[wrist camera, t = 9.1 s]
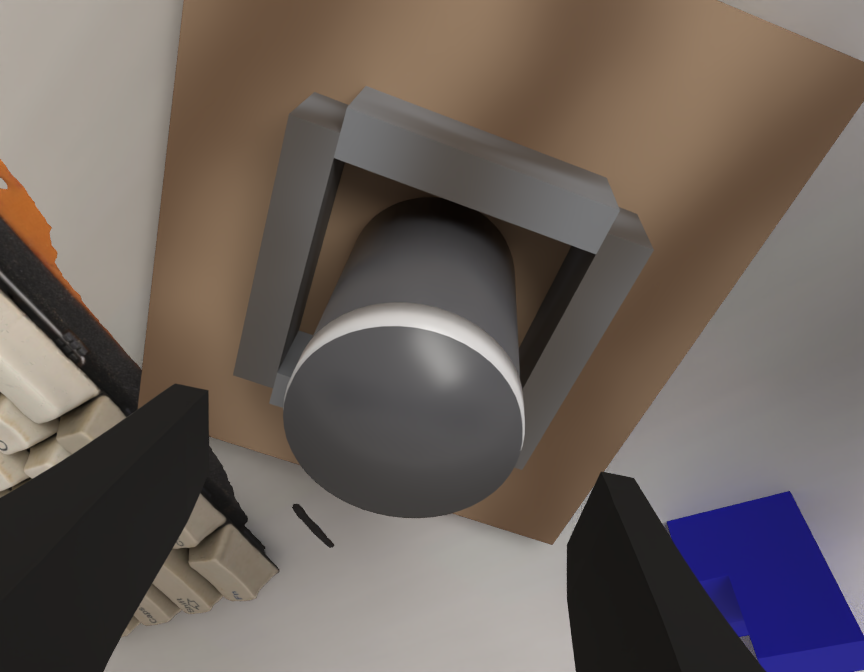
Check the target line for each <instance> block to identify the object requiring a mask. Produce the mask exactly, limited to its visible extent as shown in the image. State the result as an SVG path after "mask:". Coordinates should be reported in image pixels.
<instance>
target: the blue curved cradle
mask: <svg viewBox="0 0 864 672" xmlns="http://www.w3.org/2000/svg"><path fill="white" fill-rule="evenodd" d="M667 524H668V528H669V531H670V535H671V539H672V541H673V542H674V544H675V545H676V547H677V549H678V550H679V552H680V553H681V555H682V556H683V558H684V559H685V561H686V562H687V564H688V566H689V567H690V569H691V570H692V572H693V573H694V575H695V576H696V578H697V579H698V581H699V582H700V584H701V585H702V587H703V588H704V589H705V591H706V592H707V594H708V595H709V597H710V598H711V599H712V601H713V602H714V604H715V605H716V607H717V608H718V609H719V611H720V612H721V613H722V615H723V616H724V618H725V619H726V620H727V622H728V623H729V624H730V626H731V627H732V628H733V630H734V631H735V632H736V634H737V635H738V637H742V636H748V635H749V636H750V639H751V642H752V645H753V648H754V650H755V653H756V656H757V659H758V661H759V664H760V665H761V666H762V667H763V668H764V670H765V671H766V672H854V671H860V670H864V635H863V633H862V631H861V629H860V627H859V625H858V624H857V622H856V620H855V618H854V616H853V614H852V612H851V610H850V608H849V606H848V604H847V602H846V600H845V598H844V596H843V594H842V592H841V590H840V588H839V586H838V584H837V582H836V580H835V578H834V576H833V574H832V573H831V571H830V569H829V567H828V565H827V563H826V561H825V559H824V557H823V555H822V553H821V551H820V549H819V547H818V545H817V543H816V541H815V539H814V537H813V535H812V533H811V531H810V529H809V527H808V525H807V523H806V522H805V520H804V518H803V516H802V514H801V512H800V510H799V508H798V506H797V504H796V502H795V500H794V498H793V496H792V494H791V492H790V491H788V492H784V493H780V494H776V495H772V496H768V497H764V498H760V499H756V500H752V501H748V502H744V503H740V504H736V505H732V506H727V507H723V508H719V509H715V510H711V511H707V512H703V513H699V514H695V515H691V516H687V517H683V518H679V519H675V520H671V521H667Z"/></svg>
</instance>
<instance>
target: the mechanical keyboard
mask: <svg viewBox="0 0 864 672" xmlns="http://www.w3.org/2000/svg"><path fill="white" fill-rule="evenodd" d="M0 178H2V179H3V180H4V181H5V182H6V184H7V186H8V189H1V188H0V498H1V497H2V496H4V495H6V494H8V493H10V492H11V491H13V490H15V489H16V488H18V487H20V486H21V485H23V484H25V483H26V482H28V481H30V480H31V479H33V478H35V477H36V476H38V475H39V474H41V473H43V472H44V471H46V470H48V469H49V468H51V467H53V466H54V465H56V464H57V463H59V462H61V461H62V460H64V459H65V458H67V457H68V456H70V455H72V454H73V453H75V452H76V451H78V450H79V449H81V448H82V447H84V446H85V445H87V444H88V443H90V442H91V441H92V440H94V439H95V438H97V437H98V436H100V435H101V434H103V433H104V432H106V431H107V430H109V429H110V428H112V427H113V426H115V425H116V424H117V423H119V422H120V421H122V420H123V419H125V418H126V417H127V416H129V415H130V414H132V413H133V412H135V411H136V410H137V409H138V401H139V393H140V384H141V375H142V370H141V369H140V367H139V366H138V365H137V364H136V363H135V362H134V361H133V360H132V359H131V358H130V356H128V354H127V353H126V352H125V351H124V350H123V348H122V347H121V346H120V345H119V344H118V342H117V341H116V340H115V339H114V338H113V337H112V335H111V334H110V333H109V331H108V330H107V329H106V328H104V327H103V326H102V324H100V323H99V320H98V319H97V318H96V317H95V316H94V315H93V314H92V312H91V311H90V310H89V309H88V308H87V307H86V305H85V304H84V303H83V302H82V300H81V296H80V295H79V294H78V293H77V292H76V291H75V290H74V289H73V288H72V287H71V286H70V284H69V282H68V281H67V280H65V279H64V277H63V276H62V273H61V272H60V271H59V269H58V267H57V266H56V264H55V259H56V258H57V251H56V250H55V249H54V248H53V247H52V245H51V240H50V234H49V233H50V230H51V228H52V227H51V226H50V225H49V224H47V222H46V220H45V218H44V217H43V216H42V214H41V213H40V211H39V210H38V209H37V208H36V206H35V202H34V201H33V200H32V199H31V197H30V196H29V195H28V193H27V191H26V190H25V188H24V187H23V186H22V185H21V184H20V182H19V181H18V180H17V179H16V178H15V177H13V176H12V174H11V173H10V172H9V171H8V169H7V167H6V166H5V164H4V163H3V162H2V161H1V159H0ZM292 508H293V510H294V511H295V513H296V514H297V516H298V517H299V518H300V519H301V520H302V521H303V522H304V523H305V524H306V525H307V526H308V527H309V529H310V530H311V531H312V532H313V533H314V534H315V535H316V536H317V537H318V538H319V539H320V540H322V541H323V542H324V543H325V544H326V545H327V546H328V547H330V548H331V547H333V546H334V544H333V543H332V541H331V540H330V539H329V538H327V536H326V535H325V534H324V533H323V532H322V530H321V529H320V528H319V526H318V525H316V524H315V523H314V522H313V521H312V520H311V519H310V518H309V517H308V515H307V514H306V513H305V511H304V509H303V508H302V507H301V506H300V505H299V504H294V505H293V507H292ZM247 521H248V518H247V516H246V515H245V513H244V511H243V510H242V509H241V508H240V505H239V503H238V502H237V501H236V499H235V497H234V492H233V488H232V486H231V485H230V482H229V481H228V478H227V474H226V472H225V470H224V469H223V466H222V464H221V463H220V461H219V460H218V458H217V456H216V455H215V454H214V453H213V452H212V449H211V448H210V446H209V473H208V476H207V478H206V481H205V483H204V485H203V488H202V490H201V493H200V495H199V497H198V500H197V502H196V504H195V507H194V509H193V511H192V513H191V516H190V518H189V520H188V522H187V524H186V526H185V528H184V529H183V531H182V533H181V535H180V536H179V538H178V540H177V542H176V543H175V545H174V547H173V549H172V550H171V552H170V554H169V556H168V557H167V559H166V561H165V562H164V564H163V566H162V568H161V569H160V571H159V573H158V574H157V576H156V578H155V580H154V581H153V583H152V585H151V586H150V588H149V590H148V591H147V593H146V595H145V597H144V598H143V600H142V602H141V603H140V605H139V607H138V609H137V610H136V612H135V614H134V615H133V617H132V619H131V621H130V622H129V624H128V626H127V627H126V629H125V631H124V633H123V634H122V636H121V637H124V636H127V635H129V634H130V633H131V632H132V630H133V629H134V628H136V627H137V626H138V625H139V624H140V623H142V624H143V625H146V626H150V625H157V624H161V623H165V622H169V621H170V620H171V619H172V618H173V617H174V616H175V615H176V614H178V613H179V612H180V611H181V610H183V611H184V612H185V613H188V614H195V613H204V612H208V611H210V610H211V609H212V607H213V605H214V604H216V603H217V602H218V601H219V600H220V599H221V598H222V597H223V596H224V597H225V598H226V599H228V600H231V601H247V600H253V599H255V598H256V597H257V594H258V592H259V590H260V589H261V588H262V587H263V586H264V585H265V584H266V583H267V582H268V581H269V580H270V579H271V577H273V576H274V575H275V574H277V573H278V572H279V569H278V567H277V566H276V565H275V564H274V563H273V562H272V561H271V560H270V559H269V558H268V557H267V556H266V554H265V552H264V549H265V547H264V546H263V545H262V543H261V542H260V541H259V540H258V539H257V538H256V537H255V536H254V535H253V534H252V533H251V531H250V530H249V529H247V528H246V527H245V523H247Z"/></svg>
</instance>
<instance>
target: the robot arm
mask: <svg viewBox="0 0 864 672" xmlns="http://www.w3.org/2000/svg"><path fill="white" fill-rule="evenodd" d="M208 473H209V390H205V389H200V388H195V387H190V386H185V385H181V384H176V383H175V384H173V385H172V386H170V387H169V388H167V389H166V390H164V391H163V392H161V393H160V394H158V395H157V396H156V397H154V398H153V399H151V400H150V401H149V402H147V403H146V404H144V405H143V406H142V407H140V408H139V409H137V410H136V411H135V412H133V413H132V414H130V415H129V416H127V417H126V418H125V419H123V420H122V421H120V422H119V423H117V424H116V425H115V426H113V427H112V428H110V429H109V430H107V431H106V432H104V433H103V434H101V435H100V436H98V437H97V438H95V439H94V440H92V441H91V442H90V443H88V444H87V445H85V446H84V447H82V448H81V449H79V450H78V451H76V452H75V453H73V454H72V455H70V456H68V457H67V458H65V459H64V460H62V461H61V462H59V463H57V464H56V465H54V466H53V467H51V468H49V469H48V470H46V471H44V472H43V473H41V474H39V475H38V476H36V477H35V478H33V479H31V480H30V481H28V482H26V483H25V484H23V485H21V486H20V487H18V488H16V489H15V490H13V491H11V492H10V493H8V494H6V495H4V496H2V497H1V498H0V672H103V671H104V669H105V667H106V665H107V663H108V661H109V659H110V657H111V655H112V653H113V651H114V649H115V647H116V646H117V644H118V642H119V640H120V638H121V636H122V634H123V633H124V631H125V629H126V627H127V626H128V624H129V622H130V621H131V619H132V617H133V615H134V614H135V612H136V610H137V609H138V607H139V605H140V603H141V602H142V600H143V598H144V597H145V595H146V593H147V591H148V590H149V588H150V586H151V585H152V583H153V581H154V580H155V578H156V576H157V574H158V573H159V571H160V569H161V568H162V566H163V564H164V562H165V561H166V559H167V557H168V556H169V554H170V552H171V550H172V549H173V547H174V545H175V543H176V542H177V540H178V538H179V536H180V535H181V533H182V531H183V529H184V528H185V526H186V524H187V522H188V520H189V518H190V516H191V513H192V511H193V509H194V507H195V504H196V502H197V500H198V497H199V495H200V493H201V490H202V488H203V485H204V483H205V481H206V478H207V476H208ZM567 602H568V611H569V619H570V628H571V636H572V644H573V652H574V660H575V668H576V672H766V671H765V670H764V668H763V667H762V666H761V665H760V664H759V662H758V661H757V660H756V659H755V657H754V656H753V655H752V653H751V652H750V651H749V650H748V648H747V647H746V646H745V644H744V643H743V642H742V641H741V639H740V638H739V637H738V635H737V634H736V632H735V631H734V630H733V628H732V627H731V626H730V624H729V623H728V622H727V620H726V619H725V618H724V616H723V615H722V613H721V612H720V611H719V609H718V608H717V607H716V605H715V604H714V602H713V601H712V599H711V598H710V597H709V595H708V594H707V592H706V591H705V589H704V588H703V587H702V585H701V584H700V582H699V581H698V579H697V578H696V576H695V575H694V573H693V572H692V570H691V569H690V567H689V566H688V564H687V562H686V561H685V559H684V558H683V556H682V555H681V553H680V552H679V550H678V549H677V547H676V545H675V544H674V542H673V541H672V539H671V537H670V536H669V534H668V533H667V531H666V529H665V528H664V526H663V525H662V523H661V521H660V520H659V518H658V516H657V515H656V513H655V512H654V510H653V508H652V507H651V505H650V503H649V502H648V500H647V499H646V497H645V495H644V494H643V492H642V490H641V489H640V487H639V486H638V484H637V482H636V481H635V479H634V478H631V477H626V476H621V475H616V474H611V473H606V472H602V471H601V472H600V474H599V476H598V479H597V481H596V483H595V485H594V487H593V489H592V492H591V494H590V496H589V498H588V500H587V503H586V505H585V507H584V509H583V511H582V513H581V516H580V518H579V520H578V522H577V524H576V526H575V529H574V531H573V533H572V535H571V537H570V539H569V542H568V544H567Z"/></svg>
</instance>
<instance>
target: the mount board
mask: <svg viewBox="0 0 864 672" xmlns="http://www.w3.org/2000/svg"><path fill="white" fill-rule="evenodd" d="M863 101H864V62H863V61H860V60H858V59H855V58H853V57H851V56H848V55H846V54H844V53H841V52H839V51H836V50H834V49H832V48H829V47H827V46H825V45H822V44H820V43H817V42H815V41H813V40H810V39H808V38H805V37H803V36H801V35H798V34H796V33H794V32H791V31H789V30H786V29H784V28H782V27H779V26H777V25H775V24H772V23H770V22H767V21H765V20H763V19H760V18H758V17H756V16H753V15H751V14H748V13H746V12H744V11H741V10H739V9H736V8H734V7H732V6H729V5H727V4H725V3H722V2H720V1H717V0H184V3H183V12H182V21H181V30H180V38H179V47H178V56H177V65H176V74H175V83H174V91H173V100H172V109H171V118H170V127H169V136H168V145H167V153H166V162H165V171H164V180H163V189H162V198H161V207H160V215H159V224H158V233H157V242H156V251H155V260H154V269H153V277H152V286H151V295H150V304H149V313H148V322H147V331H146V339H145V348H144V357H143V366H142V375H141V384H140V393H139V401H138V409H139V408H140V407H142V406H143V405H144V404H146V403H147V402H149V401H150V400H151V399H153V398H154V397H156V396H157V395H158V394H160V393H161V392H163V391H164V390H166V389H167V388H169V387H170V386H172V385H173V384H175V383H176V384H181V385H185V386H190V387H195V388H200V389H205V390H209V436H210V437H213V438H216V439H219V440H222V441H226V442H229V443H232V444H235V445H238V446H241V447H244V448H248V449H251V450H254V451H257V452H260V453H263V454H267V455H270V456H273V457H276V458H279V459H282V460H286V461H289V462H292V463H295V464H298V465H300V464H299V463H298V461H297V459H296V458H295V456H294V454H293V453H292V451H291V448H290V446H289V444H288V441H287V438H286V434H285V430H284V423H283V406H284V396H285V392H286V389H287V385H288V383H289V380H290V378H291V376H292V374H293V372H294V370H295V367H296V365H297V363H298V361H299V359H300V357H301V355H302V352H303V350H304V349H305V347H306V346H307V344H308V343H309V342H310V340H311V339H312V337H313V334H314V332H315V330H316V328H317V326H318V324H319V321H320V319H321V317H322V315H323V313H324V311H325V308H326V306H327V304H328V302H329V300H330V298H331V295H332V293H333V291H334V289H335V287H336V285H337V282H338V280H339V278H340V276H341V274H342V272H343V269H344V267H345V265H346V263H347V261H348V259H349V256H350V254H351V252H352V250H353V248H354V246H355V243H356V241H357V239H358V237H359V235H360V233H361V232H362V230H363V229H364V227H365V226H366V225H367V224H368V223H369V222H370V221H371V220H372V219H373V218H374V217H375V216H376V215H377V214H379V213H380V212H382V211H383V210H385V209H386V208H388V207H390V206H392V205H394V204H396V203H399V202H402V201H405V200H409V199H414V198H421V197H436V198H444V199H447V200H450V201H452V202H455V203H458V204H460V205H463V206H466V207H469V208H471V209H474V210H477V211H478V212H480V213H481V214H483V215H484V216H485V217H486V218H488V219H489V220H490V221H491V222H492V223H493V224H494V225H495V226H496V227H497V229H498V230H499V231H500V232H501V234H502V235H503V237H504V238H505V240H506V242H507V244H508V246H509V248H510V251H511V254H512V257H513V262H514V268H515V286H516V306H517V326H518V347H519V367H520V382H521V385H522V391H523V398H524V416H525V435H524V441H523V446H522V449H521V452H520V455H519V458H518V460H517V463H516V465H515V467H514V469H513V470H512V472H511V474H510V475H509V477H508V478H507V479H506V480H505V482H504V483H503V484H502V485H501V486H500V487H499V488H498V489H497V490H496V491H495V492H494V493H492V494H491V495H489V496H488V497H487V498H485V499H484V500H482V501H480V502H478V503H477V504H475V505H473V506H471V507H468V508H466V509H463V510H461V511H458V512H454V513H453V514H456V515H459V516H462V517H466V518H469V519H472V520H475V521H478V522H481V523H485V524H488V525H491V526H494V527H497V528H500V529H504V530H507V531H510V532H513V533H516V534H519V535H523V536H526V537H529V538H532V539H535V540H538V541H541V542H545V543H548V544H551V545H553V543H554V542H555V540H556V539H557V538H558V536H559V535H560V533H561V532H562V530H563V529H564V528H565V526H566V525H567V523H568V522H569V520H570V519H571V518H572V516H573V515H574V513H575V512H576V510H577V509H578V508H579V506H580V505H581V503H582V502H583V501H584V499H585V498H586V496H587V495H588V493H589V492H590V491H591V489H592V488H593V486H594V485H595V483H596V481H597V479H598V476H599V474H600V472H601V471H602V472H604V471H605V469H606V468H607V466H608V465H609V463H610V462H611V461H612V459H613V458H614V456H615V455H616V453H617V452H618V451H619V449H620V448H621V446H622V445H623V443H624V442H625V441H626V439H627V438H628V436H629V435H630V433H631V432H632V431H633V429H634V428H635V426H636V425H637V423H638V422H639V421H640V419H641V418H642V416H643V415H644V413H645V412H646V411H647V409H648V408H649V406H650V405H651V404H652V402H653V401H654V399H655V398H656V396H657V395H658V394H659V392H660V391H661V389H662V388H663V386H664V385H665V384H666V382H667V381H668V379H669V378H670V376H671V375H672V374H673V372H674V371H675V369H676V368H677V366H678V365H679V364H680V362H681V361H682V359H683V358H684V356H685V355H686V354H687V352H688V351H689V349H690V348H691V346H692V345H693V344H694V342H695V341H696V339H697V338H698V336H699V335H700V334H701V332H702V331H703V329H704V328H705V326H706V325H707V324H708V322H709V321H710V319H711V318H712V317H713V315H714V314H715V312H716V311H717V309H718V308H719V307H720V305H721V304H722V302H723V301H724V299H725V298H726V297H727V295H728V294H729V292H730V291H731V289H732V288H733V287H734V285H735V284H736V282H737V281H738V279H739V278H740V277H741V275H742V274H743V272H744V271H745V269H746V268H747V267H748V265H749V264H750V262H751V261H752V259H753V258H754V257H755V255H756V254H757V252H758V251H759V249H760V248H761V247H762V245H763V244H764V242H765V241H766V239H767V238H768V237H769V235H770V234H771V232H772V231H773V230H774V228H775V227H776V225H777V224H778V222H779V221H780V220H781V218H782V217H783V215H784V214H785V212H786V211H787V210H788V208H789V207H790V205H791V204H792V202H793V201H794V200H795V198H796V197H797V195H798V194H799V192H800V191H801V190H802V188H803V187H804V185H805V184H806V182H807V181H808V180H809V178H810V177H811V175H812V174H813V172H814V171H815V170H816V168H817V167H818V165H819V164H820V162H821V161H822V160H823V158H824V157H825V155H826V154H827V152H828V151H829V150H830V148H831V147H832V145H833V144H834V143H835V141H836V140H837V138H838V137H839V135H840V134H841V133H842V131H843V130H844V128H845V127H846V125H847V124H848V123H849V121H850V120H851V118H852V117H853V115H854V114H855V113H856V111H857V110H858V108H859V107H860V105H861V104H862V103H863Z"/></svg>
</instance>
